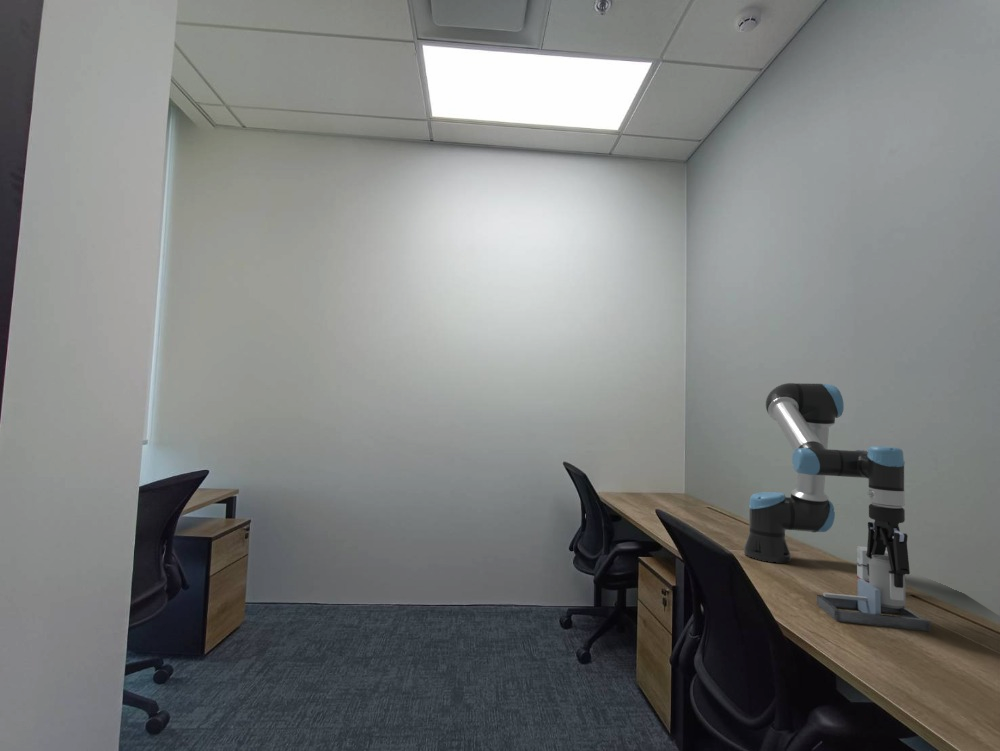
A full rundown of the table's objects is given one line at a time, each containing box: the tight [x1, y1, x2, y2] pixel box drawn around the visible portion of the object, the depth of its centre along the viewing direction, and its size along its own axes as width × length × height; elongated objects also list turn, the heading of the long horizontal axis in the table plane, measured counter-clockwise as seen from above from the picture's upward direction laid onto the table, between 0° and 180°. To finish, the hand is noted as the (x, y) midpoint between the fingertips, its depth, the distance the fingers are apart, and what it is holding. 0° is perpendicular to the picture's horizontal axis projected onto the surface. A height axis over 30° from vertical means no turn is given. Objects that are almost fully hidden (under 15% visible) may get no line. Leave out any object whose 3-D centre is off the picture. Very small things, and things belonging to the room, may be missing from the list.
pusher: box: [822, 578, 882, 615], centre depth 132 cm, size 9×11×8 cm
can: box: [869, 555, 907, 609], centre depth 130 cm, size 8×8×12 cm
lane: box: [816, 594, 932, 632], centre depth 130 cm, size 12×21×2 cm, turn 79°
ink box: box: [856, 545, 888, 585], centre depth 154 cm, size 9×5×12 cm, turn 69°
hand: (887, 593), depth 130 cm, fingers closed on can, 7 cm apart
